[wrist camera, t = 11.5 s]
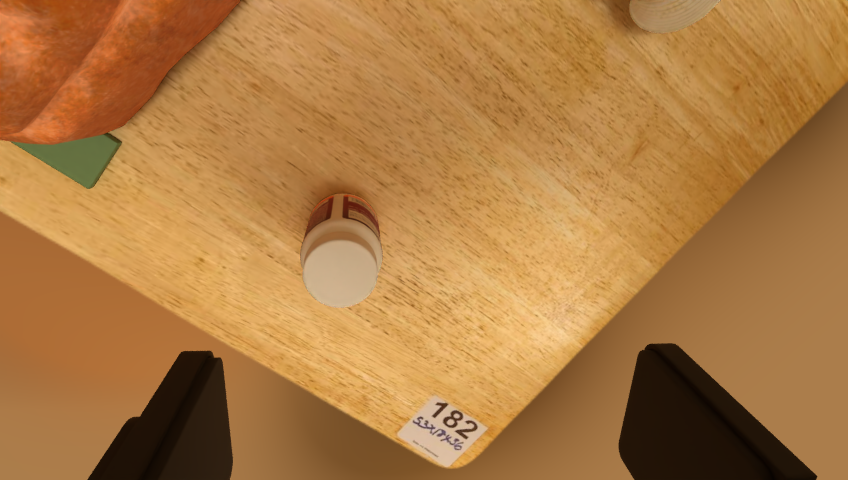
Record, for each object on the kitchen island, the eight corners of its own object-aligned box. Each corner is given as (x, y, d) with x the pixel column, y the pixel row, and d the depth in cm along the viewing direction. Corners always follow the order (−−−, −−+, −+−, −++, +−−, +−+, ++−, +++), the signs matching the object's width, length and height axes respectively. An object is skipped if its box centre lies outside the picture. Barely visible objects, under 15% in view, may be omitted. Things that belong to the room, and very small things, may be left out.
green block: (122, 142, 31) (114, 145, 30) (93, 187, 32) (84, 191, 31) (-49, 30, 28) (-65, 29, 27) (-77, 83, 29) (-93, 84, 28)
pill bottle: (316, 262, 35) (304, 321, 27) (302, 197, 34) (285, 241, 26) (383, 251, 36) (390, 307, 28) (373, 186, 34) (377, 226, 26)
